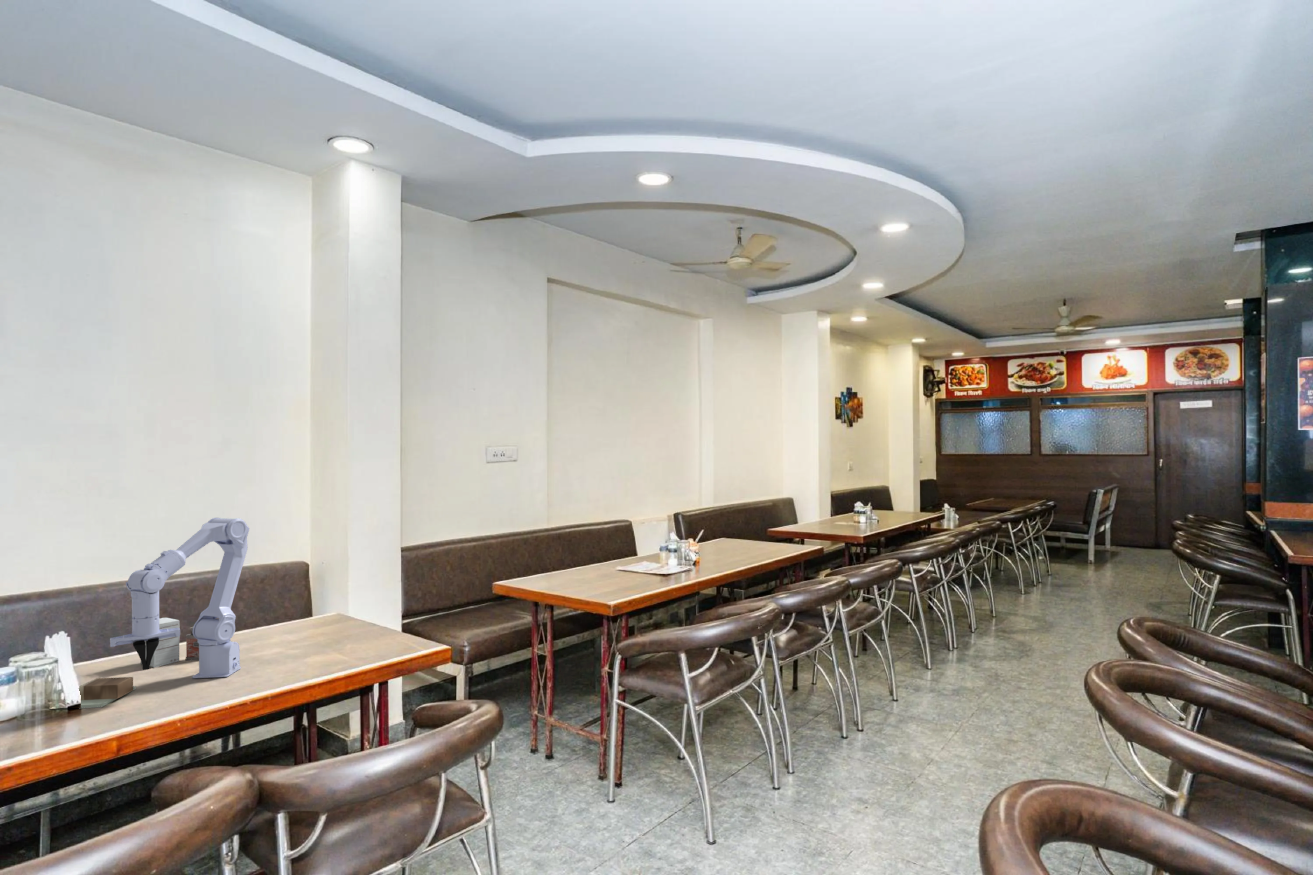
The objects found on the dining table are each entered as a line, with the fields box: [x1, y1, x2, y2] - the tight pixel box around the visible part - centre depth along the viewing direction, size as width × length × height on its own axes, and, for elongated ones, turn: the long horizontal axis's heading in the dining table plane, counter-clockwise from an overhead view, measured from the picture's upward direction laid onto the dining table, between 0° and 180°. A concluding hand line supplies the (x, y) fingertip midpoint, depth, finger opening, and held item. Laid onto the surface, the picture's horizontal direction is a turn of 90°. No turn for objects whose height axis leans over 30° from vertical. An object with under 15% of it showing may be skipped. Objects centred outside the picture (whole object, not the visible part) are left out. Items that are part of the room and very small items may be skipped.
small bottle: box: [185, 626, 199, 662], centre depth 211 cm, size 8×3×10 cm, turn 105°
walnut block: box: [78, 676, 134, 700], centre depth 178 cm, size 4×6×9 cm
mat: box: [80, 685, 137, 709], centre depth 177 cm, size 12×13×2 cm
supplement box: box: [140, 617, 180, 668], centre depth 207 cm, size 7×7×13 cm
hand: (146, 668), depth 179 cm, fingers closed
